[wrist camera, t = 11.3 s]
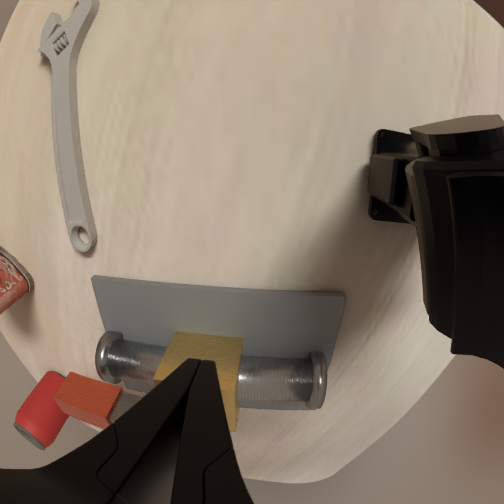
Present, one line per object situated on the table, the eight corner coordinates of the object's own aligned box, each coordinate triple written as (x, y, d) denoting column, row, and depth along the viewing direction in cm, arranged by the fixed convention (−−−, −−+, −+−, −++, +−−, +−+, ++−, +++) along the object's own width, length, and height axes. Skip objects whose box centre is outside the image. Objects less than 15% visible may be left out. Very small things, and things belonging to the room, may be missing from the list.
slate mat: (344, 292, 21) (346, 296, 21) (315, 405, 27) (315, 409, 26) (94, 275, 22) (90, 278, 22) (128, 384, 28) (126, 388, 28)
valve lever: (214, 405, 18) (206, 442, 15) (216, 420, 19) (209, 455, 16) (70, 371, 19) (52, 396, 15) (79, 387, 19) (63, 412, 16)
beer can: (42, 363, 30) (3, 414, 19) (72, 377, 30) (33, 436, 19) (56, 390, 32) (23, 439, 21) (85, 404, 32) (54, 458, 21)
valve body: (323, 336, 23) (335, 393, 17) (313, 380, 25) (318, 434, 19) (112, 316, 24) (79, 359, 18) (126, 360, 26) (101, 403, 20)
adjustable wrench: (104, 245, 22) (94, 253, 20) (56, 244, 22) (46, 251, 21) (105, -13, 12) (96, -19, 11) (55, 12, 13) (45, 8, 11)
